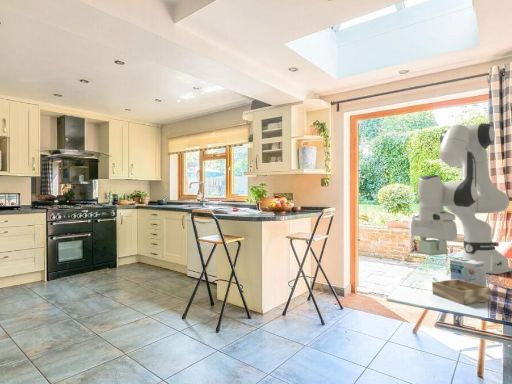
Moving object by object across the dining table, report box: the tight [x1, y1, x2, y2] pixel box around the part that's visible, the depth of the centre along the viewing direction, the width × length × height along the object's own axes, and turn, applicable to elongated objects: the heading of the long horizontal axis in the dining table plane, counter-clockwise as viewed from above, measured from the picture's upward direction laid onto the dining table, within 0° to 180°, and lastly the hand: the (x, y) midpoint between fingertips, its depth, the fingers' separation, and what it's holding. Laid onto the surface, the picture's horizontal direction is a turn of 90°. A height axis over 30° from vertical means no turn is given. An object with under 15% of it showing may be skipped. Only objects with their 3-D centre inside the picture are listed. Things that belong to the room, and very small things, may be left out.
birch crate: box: [431, 279, 492, 305], centre depth 116 cm, size 12×13×4 cm
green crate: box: [418, 239, 448, 256], centre depth 126 cm, size 8×6×5 cm
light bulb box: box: [449, 257, 488, 287], centre depth 128 cm, size 11×7×11 cm, turn 23°
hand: (432, 249), depth 126 cm, fingers closed on green crate, 6 cm apart
